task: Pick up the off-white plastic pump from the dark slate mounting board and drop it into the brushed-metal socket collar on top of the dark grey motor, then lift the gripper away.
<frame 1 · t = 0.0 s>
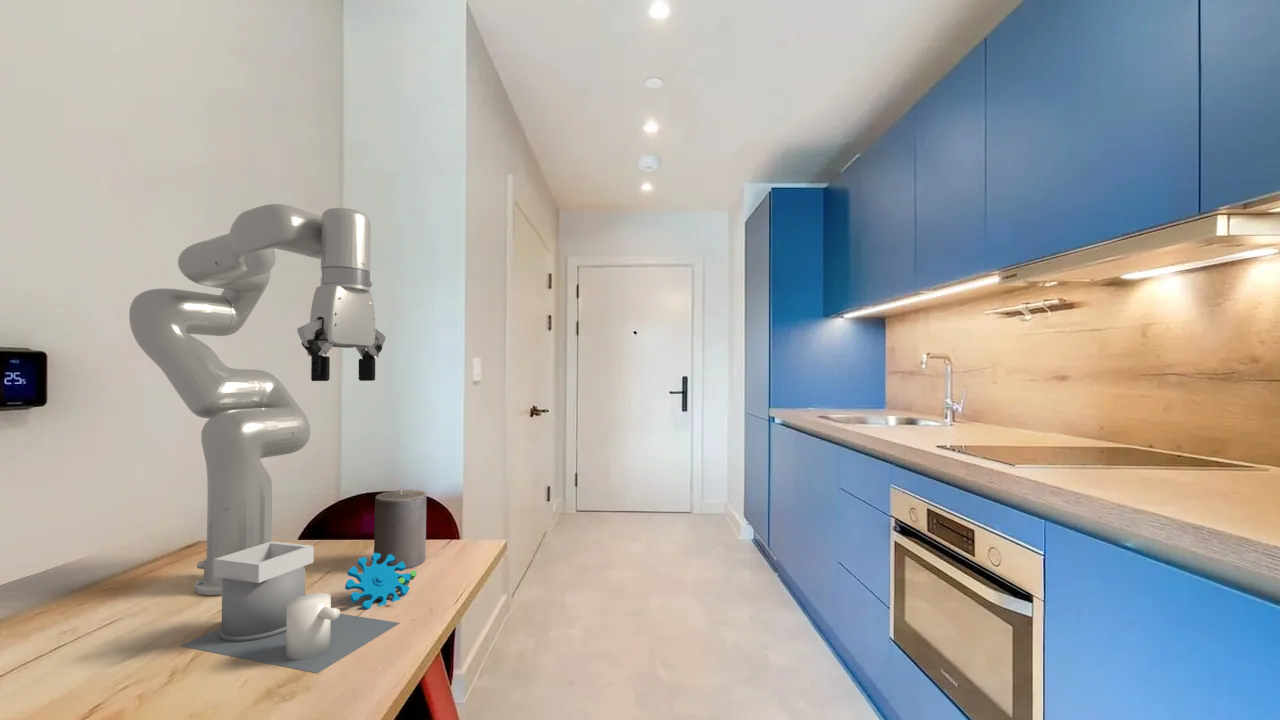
hand: (344, 380, 92), 37 cm above the table, tool pointing down, fingers open, 9 cm apart
gear: (382, 604, 88), on the table
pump: (308, 650, 71), point 1 cm above the table, touching motor stand
pillar candle: (400, 563, 108), on the table
motor stand: (294, 641, 75), on the table
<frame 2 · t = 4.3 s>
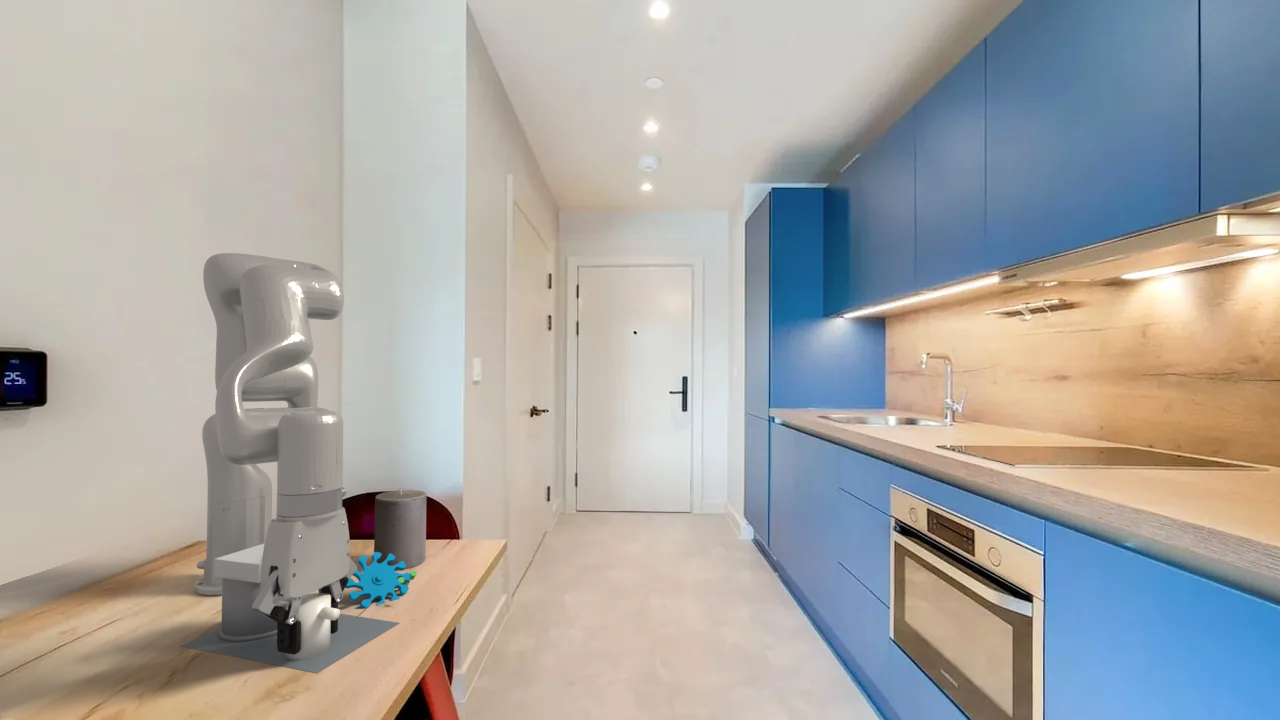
hand: (308, 640, 71), 2 cm above the table, tool pointing down, fingers closed on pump, 5 cm apart
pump: (308, 650, 71), point 1 cm above the table, touching gripper, motor stand
everything else where it was.
when the fingers open (12 cm above the table, at t = 9.2 s): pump drops 2 cm, resting on motor stand.
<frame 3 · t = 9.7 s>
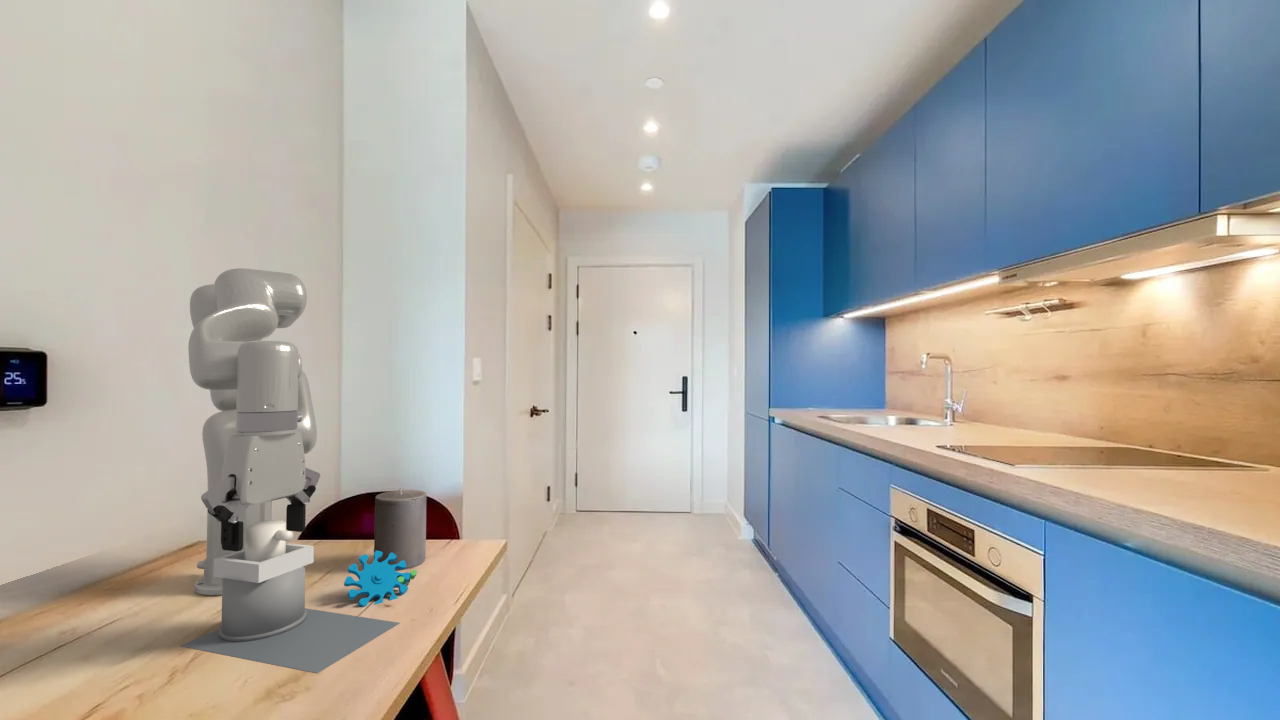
hand: (265, 539, 79), 13 cm above the table, tool pointing down, fingers open, 9 cm apart
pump: (265, 569, 79), point 9 cm above the table, touching motor stand
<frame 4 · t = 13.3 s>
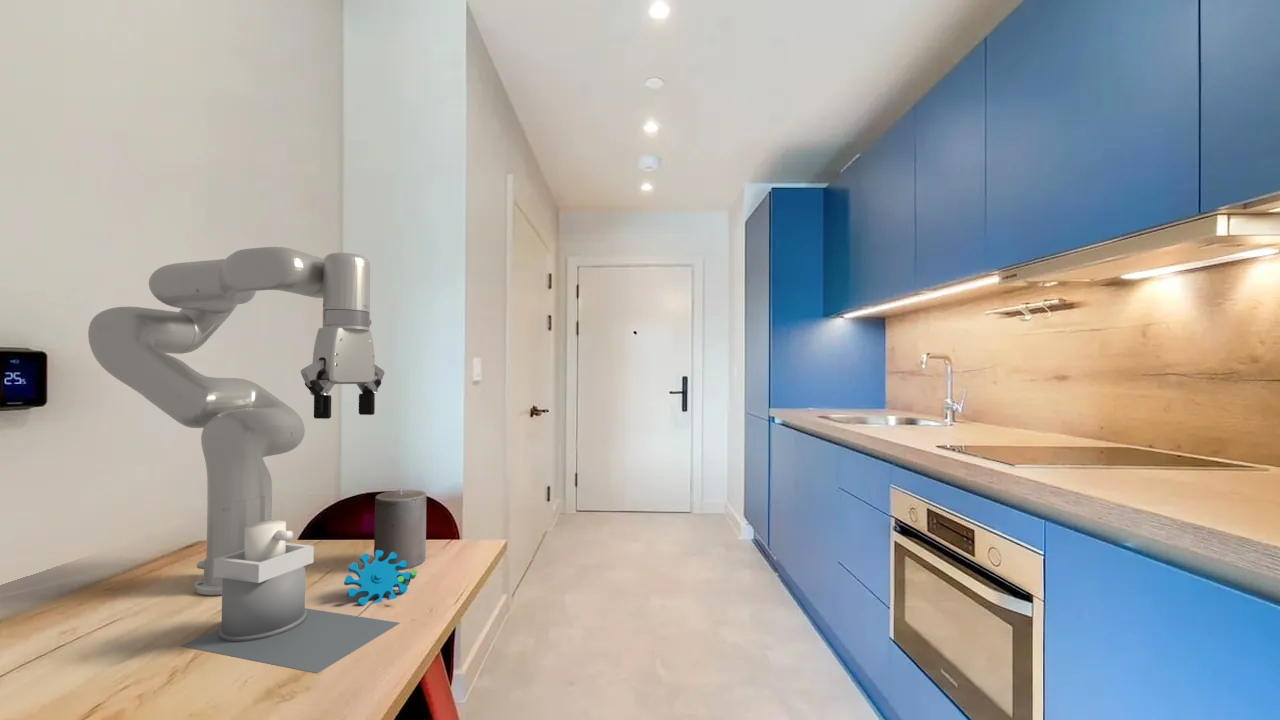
hand: (345, 416, 97), 30 cm above the table, tool pointing down, fingers open, 9 cm apart
at the end: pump 0.0 cm from the target spot on the motor stand, point 9.0 cm above the motor stand's base; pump tilted 0°; the gripper is holding nothing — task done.
